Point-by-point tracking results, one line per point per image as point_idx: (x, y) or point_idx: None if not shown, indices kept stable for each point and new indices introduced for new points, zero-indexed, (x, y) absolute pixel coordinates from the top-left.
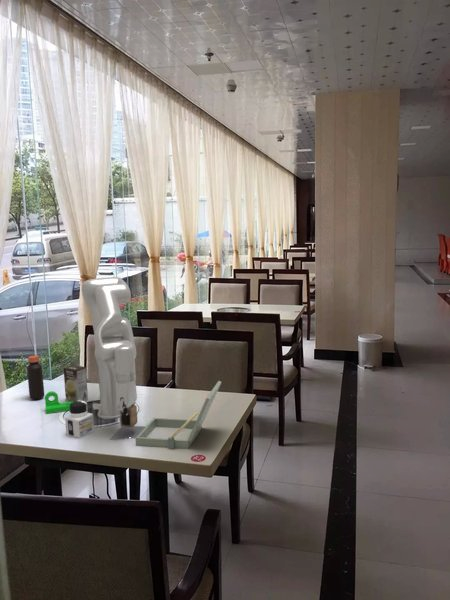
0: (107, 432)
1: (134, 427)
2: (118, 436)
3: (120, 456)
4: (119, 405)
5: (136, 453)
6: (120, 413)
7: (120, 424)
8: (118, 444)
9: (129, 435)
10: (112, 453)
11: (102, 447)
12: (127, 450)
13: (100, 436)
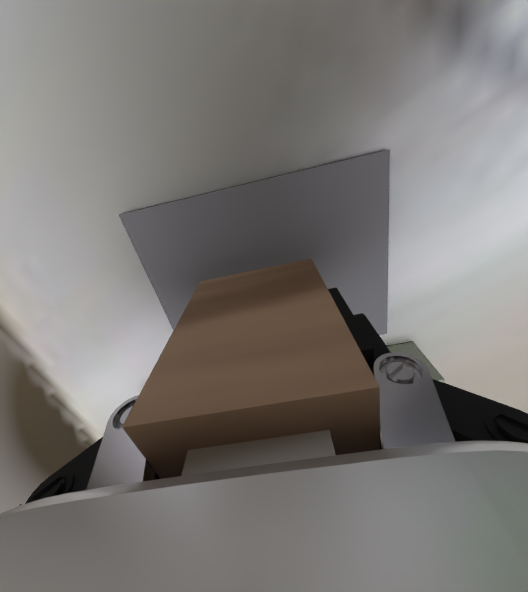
0: (232, 88)
1: (362, 261)
2: (193, 247)
3: (39, 376)
4: (39, 560)
5: (106, 411)
6: (160, 374)
7: (196, 289)
8: (121, 301)
9: None
10: (28, 333)
11: (27, 239)
12: (101, 372)
13: (137, 82)
